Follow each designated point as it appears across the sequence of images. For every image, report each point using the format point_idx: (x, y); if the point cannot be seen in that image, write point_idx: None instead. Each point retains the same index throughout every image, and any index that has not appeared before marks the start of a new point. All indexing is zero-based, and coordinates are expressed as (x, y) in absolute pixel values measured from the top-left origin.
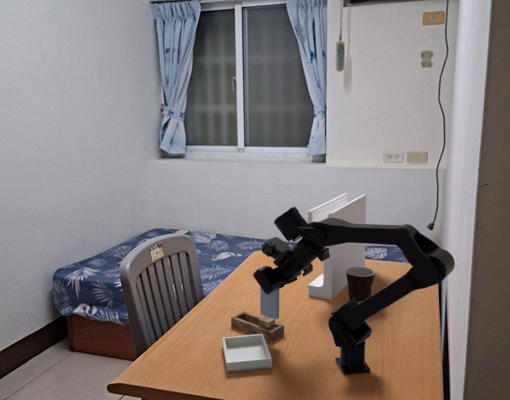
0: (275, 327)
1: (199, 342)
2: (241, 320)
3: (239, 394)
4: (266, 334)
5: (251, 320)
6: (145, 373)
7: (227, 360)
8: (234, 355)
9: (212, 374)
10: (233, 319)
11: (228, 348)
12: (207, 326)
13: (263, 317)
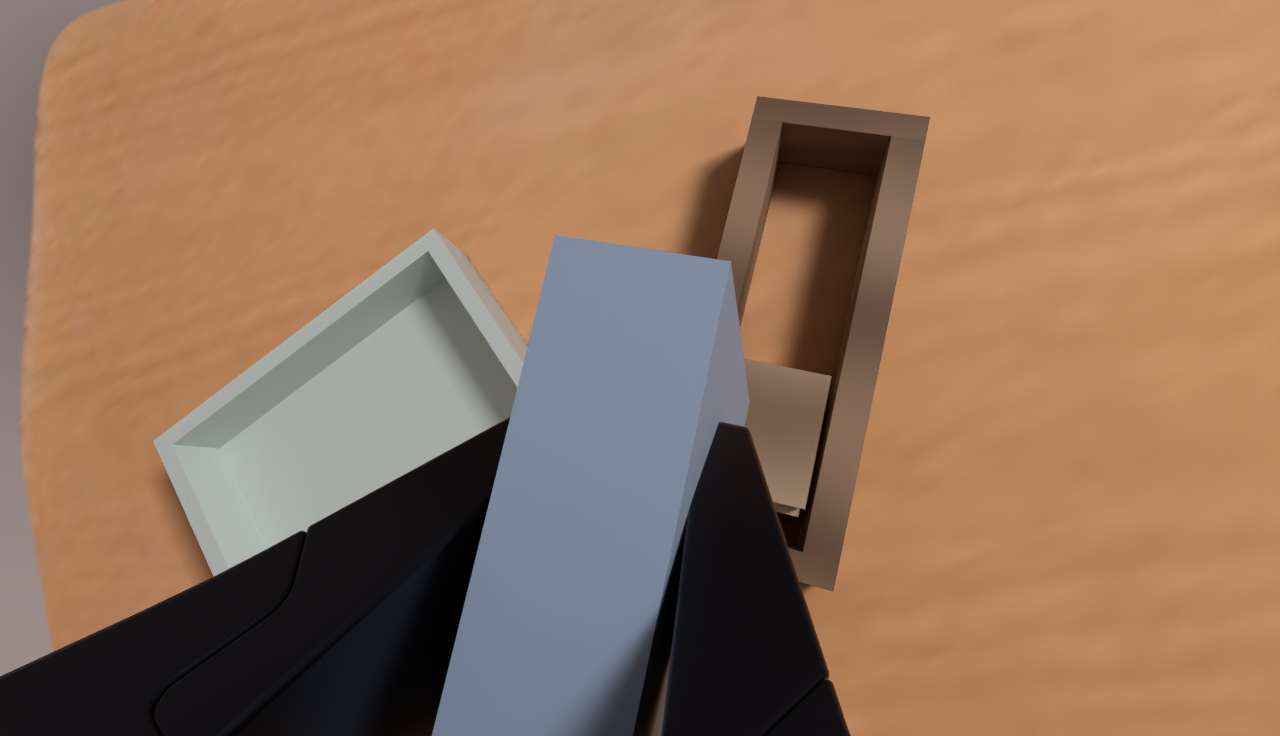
0: (789, 514)
1: (463, 102)
2: (746, 197)
3: (55, 618)
4: None
5: (866, 239)
6: (117, 81)
7: (180, 429)
8: (363, 394)
9: (182, 378)
10: (750, 126)
11: (429, 311)
12: (675, 7)
13: (783, 385)
